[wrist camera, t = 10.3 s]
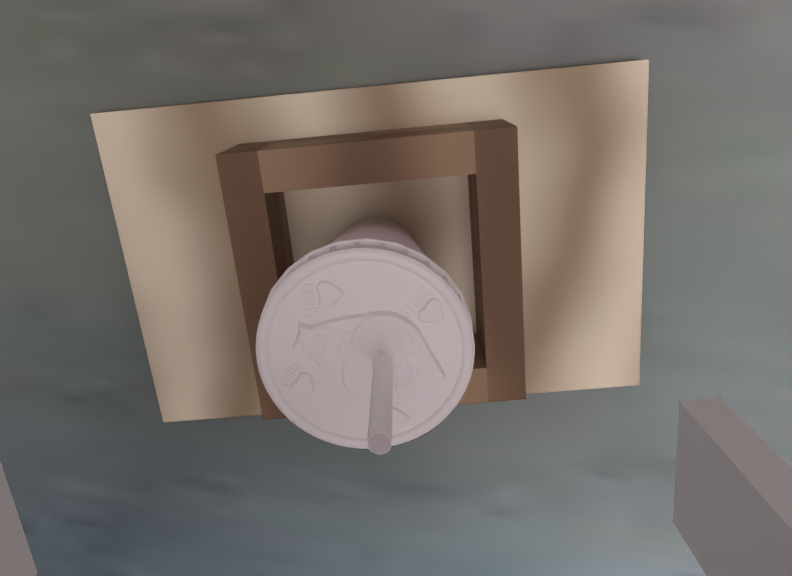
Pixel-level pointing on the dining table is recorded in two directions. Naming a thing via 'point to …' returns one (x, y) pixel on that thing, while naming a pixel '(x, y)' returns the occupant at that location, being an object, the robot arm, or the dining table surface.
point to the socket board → (400, 202)
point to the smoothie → (366, 340)
